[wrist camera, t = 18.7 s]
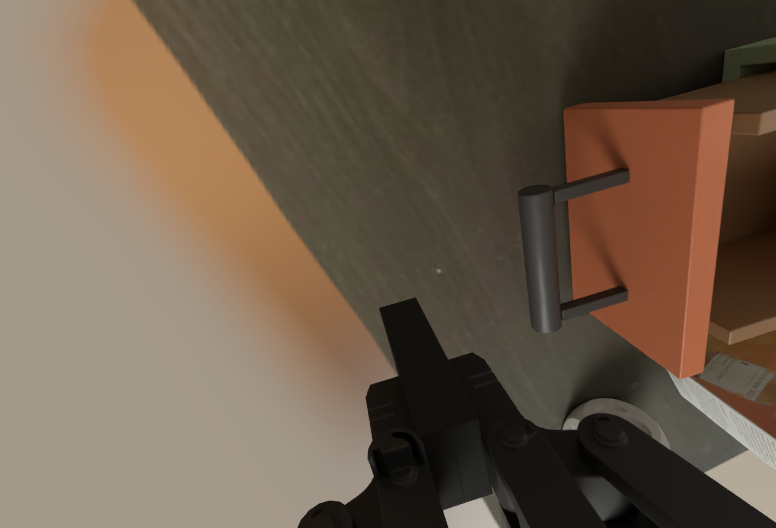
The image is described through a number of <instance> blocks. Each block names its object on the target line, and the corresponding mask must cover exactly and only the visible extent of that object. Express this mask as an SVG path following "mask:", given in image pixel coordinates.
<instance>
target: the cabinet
mask: <svg viewBox="0 0 776 528" xmlns="http://www.w3.org/2000/svg"><path fill="white" fill-rule="evenodd" d="M774 68H776V37H773V38H770V39H766V40H762V41H758V42H755V43H751V44H747V45H743V46H740V47H736V48H732V49H728V50H726V51H725V57H724V67H723V77H722V83H723V82H727V81H730V80H734V79H738V78H741V77H745V76H749V75H752V74H756V73H760V72H763V71H767V70H770V69H774Z"/></svg>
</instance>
